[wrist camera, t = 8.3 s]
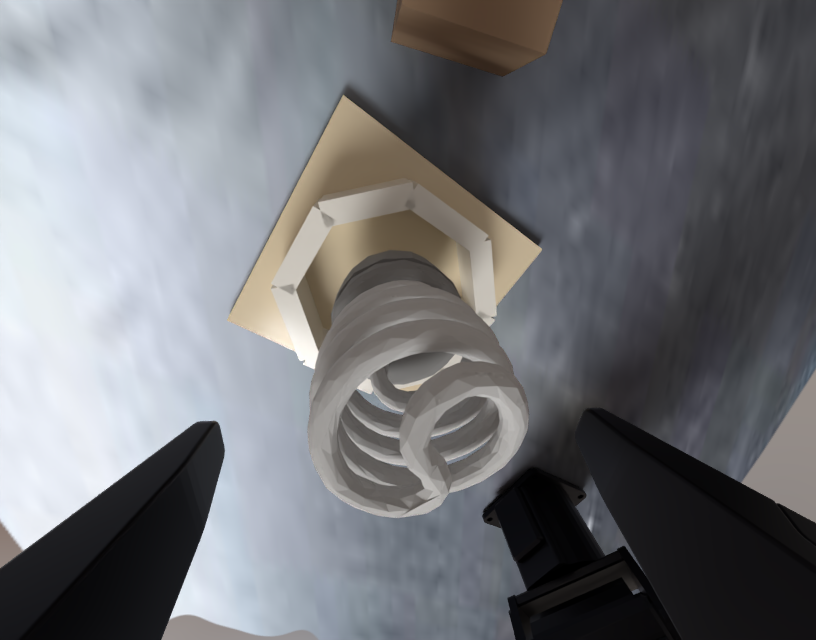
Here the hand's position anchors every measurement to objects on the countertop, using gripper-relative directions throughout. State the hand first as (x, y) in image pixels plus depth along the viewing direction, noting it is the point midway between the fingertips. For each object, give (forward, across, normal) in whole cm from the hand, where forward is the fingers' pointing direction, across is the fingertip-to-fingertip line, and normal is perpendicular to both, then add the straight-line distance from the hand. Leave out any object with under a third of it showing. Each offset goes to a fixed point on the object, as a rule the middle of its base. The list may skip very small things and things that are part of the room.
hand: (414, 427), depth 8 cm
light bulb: (+11, 0, 0) cm, 11 cm away
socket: (+11, 0, 0) cm, 11 cm away
